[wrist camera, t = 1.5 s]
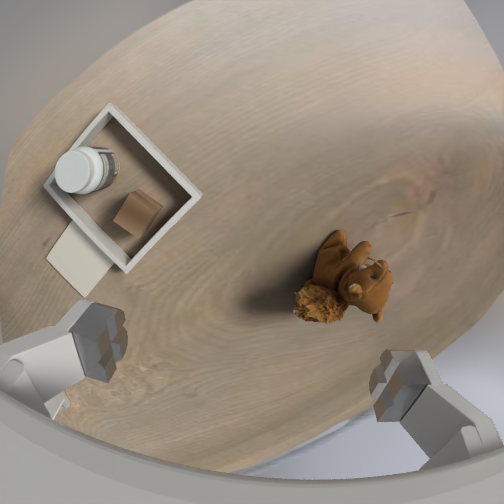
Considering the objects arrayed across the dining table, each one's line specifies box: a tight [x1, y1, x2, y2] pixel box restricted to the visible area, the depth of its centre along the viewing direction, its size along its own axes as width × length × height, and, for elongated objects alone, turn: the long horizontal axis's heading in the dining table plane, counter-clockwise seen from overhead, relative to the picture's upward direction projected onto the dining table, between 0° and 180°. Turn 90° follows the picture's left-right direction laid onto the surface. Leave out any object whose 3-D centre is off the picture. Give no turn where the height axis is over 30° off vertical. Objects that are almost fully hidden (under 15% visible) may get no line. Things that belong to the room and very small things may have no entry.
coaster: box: [46, 220, 115, 298], centre depth 40 cm, size 9×9×1 cm
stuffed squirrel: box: [293, 230, 394, 323], centre depth 39 cm, size 10×14×13 cm
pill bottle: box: [55, 146, 120, 194], centre depth 32 cm, size 6×6×10 cm
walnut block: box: [113, 190, 163, 239], centre depth 37 cm, size 4×4×5 cm
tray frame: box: [43, 103, 203, 274], centre depth 36 cm, size 15×18×3 cm
